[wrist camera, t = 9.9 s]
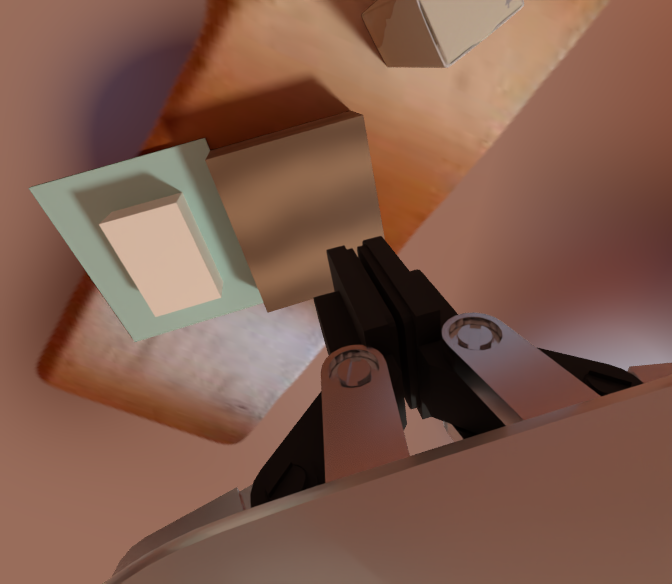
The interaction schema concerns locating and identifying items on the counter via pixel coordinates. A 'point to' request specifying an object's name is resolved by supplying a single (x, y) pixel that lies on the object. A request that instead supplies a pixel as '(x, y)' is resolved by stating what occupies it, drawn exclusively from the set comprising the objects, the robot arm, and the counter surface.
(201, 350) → the counter surface
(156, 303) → the beige rectangular block
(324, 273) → the plate
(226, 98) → the counter surface
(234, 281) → the mat
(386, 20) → the box
